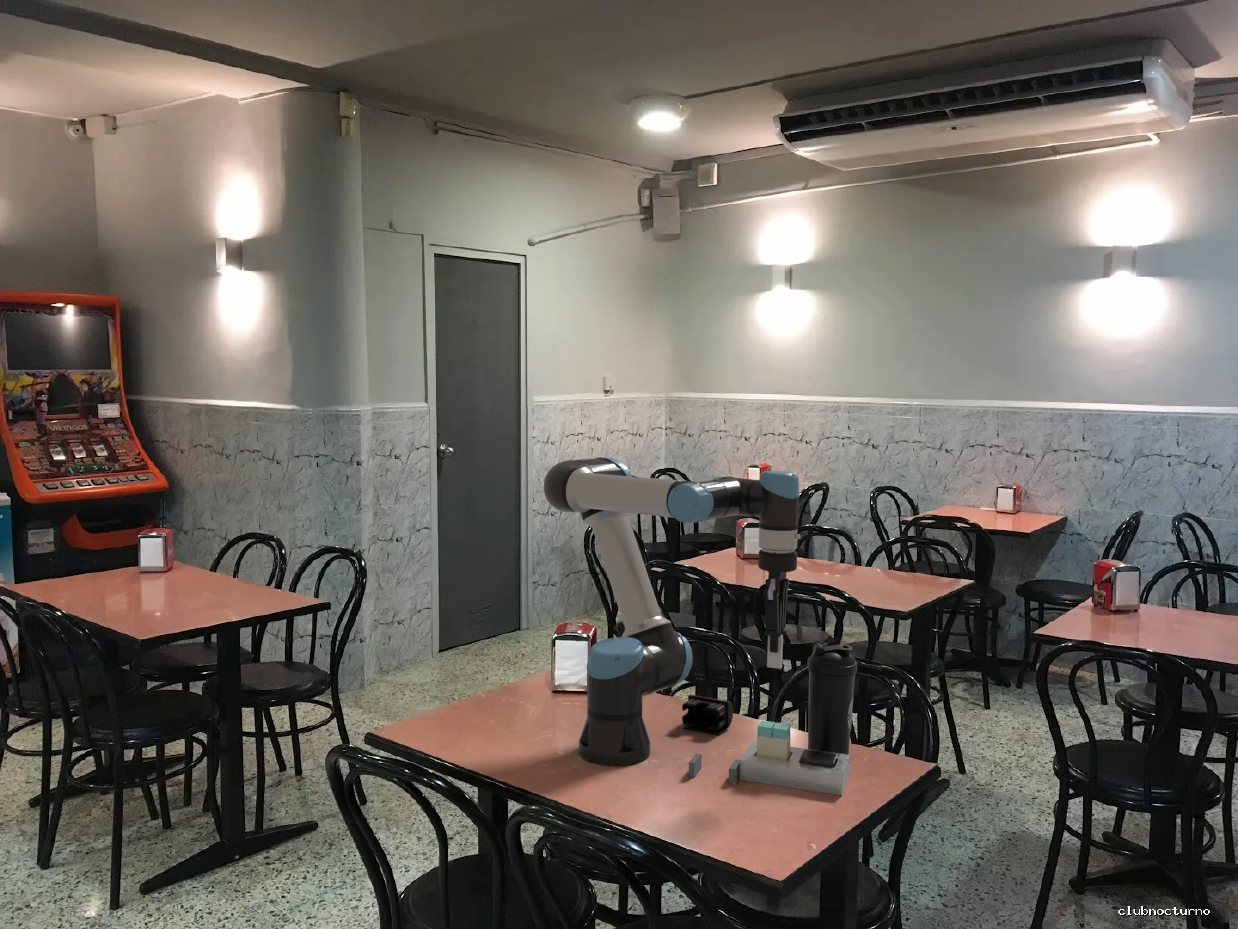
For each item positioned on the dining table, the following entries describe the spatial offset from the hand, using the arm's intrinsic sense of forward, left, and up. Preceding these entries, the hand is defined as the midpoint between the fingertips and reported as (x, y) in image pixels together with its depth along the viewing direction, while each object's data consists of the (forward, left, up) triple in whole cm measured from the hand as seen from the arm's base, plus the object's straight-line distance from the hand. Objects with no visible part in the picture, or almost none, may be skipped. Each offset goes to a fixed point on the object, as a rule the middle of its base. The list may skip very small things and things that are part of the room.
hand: (774, 666), depth 196 cm
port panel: (+5, 0, -22) cm, 22 cm away
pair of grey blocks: (-10, -6, -22) cm, 25 cm away
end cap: (-19, +20, -22) cm, 36 cm away
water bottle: (+9, +15, -22) cm, 28 cm away
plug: (0, 0, -22) cm, 22 cm away
